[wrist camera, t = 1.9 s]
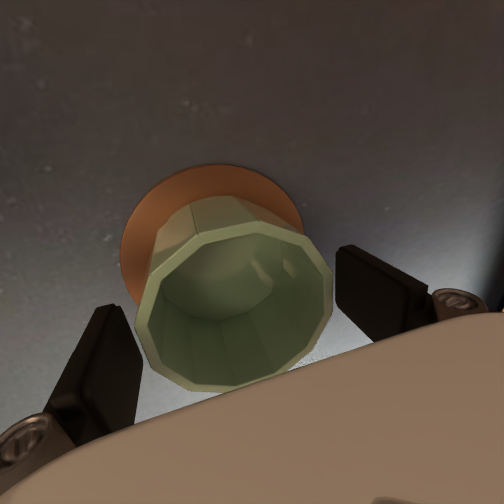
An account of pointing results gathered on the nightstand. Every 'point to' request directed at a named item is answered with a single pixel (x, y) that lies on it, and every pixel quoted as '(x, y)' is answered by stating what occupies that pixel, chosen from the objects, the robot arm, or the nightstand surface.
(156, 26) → the nightstand surface
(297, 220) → the plate
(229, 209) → the bowl
